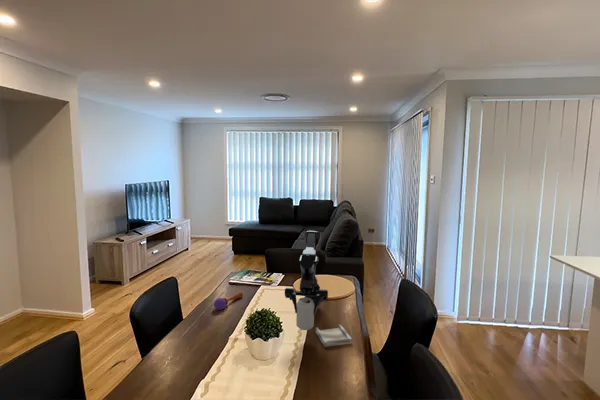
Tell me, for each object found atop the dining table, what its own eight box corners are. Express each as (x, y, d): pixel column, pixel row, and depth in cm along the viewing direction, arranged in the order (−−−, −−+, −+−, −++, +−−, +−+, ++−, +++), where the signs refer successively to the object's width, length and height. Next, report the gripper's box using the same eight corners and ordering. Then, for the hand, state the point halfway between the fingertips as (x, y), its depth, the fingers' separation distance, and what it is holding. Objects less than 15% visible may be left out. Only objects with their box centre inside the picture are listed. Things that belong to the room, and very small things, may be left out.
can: (312, 332, 134) (312, 304, 132) (294, 330, 135) (295, 303, 133) (315, 323, 141) (315, 297, 139) (298, 321, 142) (298, 295, 141)
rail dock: (315, 332, 144) (315, 327, 144) (340, 328, 147) (340, 324, 147) (324, 347, 133) (324, 342, 133) (351, 343, 136) (351, 338, 136)
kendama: (245, 291, 178) (221, 302, 160) (243, 301, 179) (219, 313, 161) (237, 287, 180) (212, 298, 163) (235, 297, 181) (210, 308, 163)
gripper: (285, 270, 140) (281, 305, 130) (328, 272, 138) (327, 308, 128) (287, 280, 148) (283, 314, 139) (328, 282, 147) (327, 317, 137)
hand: (305, 313), depth 136 cm, fingers closed on can, 7 cm apart
